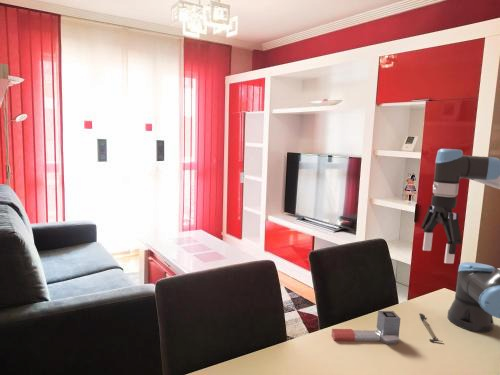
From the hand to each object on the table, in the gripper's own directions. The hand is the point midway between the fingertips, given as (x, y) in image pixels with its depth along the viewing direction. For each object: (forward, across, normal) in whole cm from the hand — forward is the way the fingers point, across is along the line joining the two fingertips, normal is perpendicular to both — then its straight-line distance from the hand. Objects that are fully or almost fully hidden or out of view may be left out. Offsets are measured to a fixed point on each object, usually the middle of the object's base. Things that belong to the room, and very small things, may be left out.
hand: (437, 256), depth 128 cm
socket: (+26, +3, -16) cm, 31 cm away
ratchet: (+29, +3, -24) cm, 37 cm away
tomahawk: (+29, -4, +4) cm, 30 cm away
